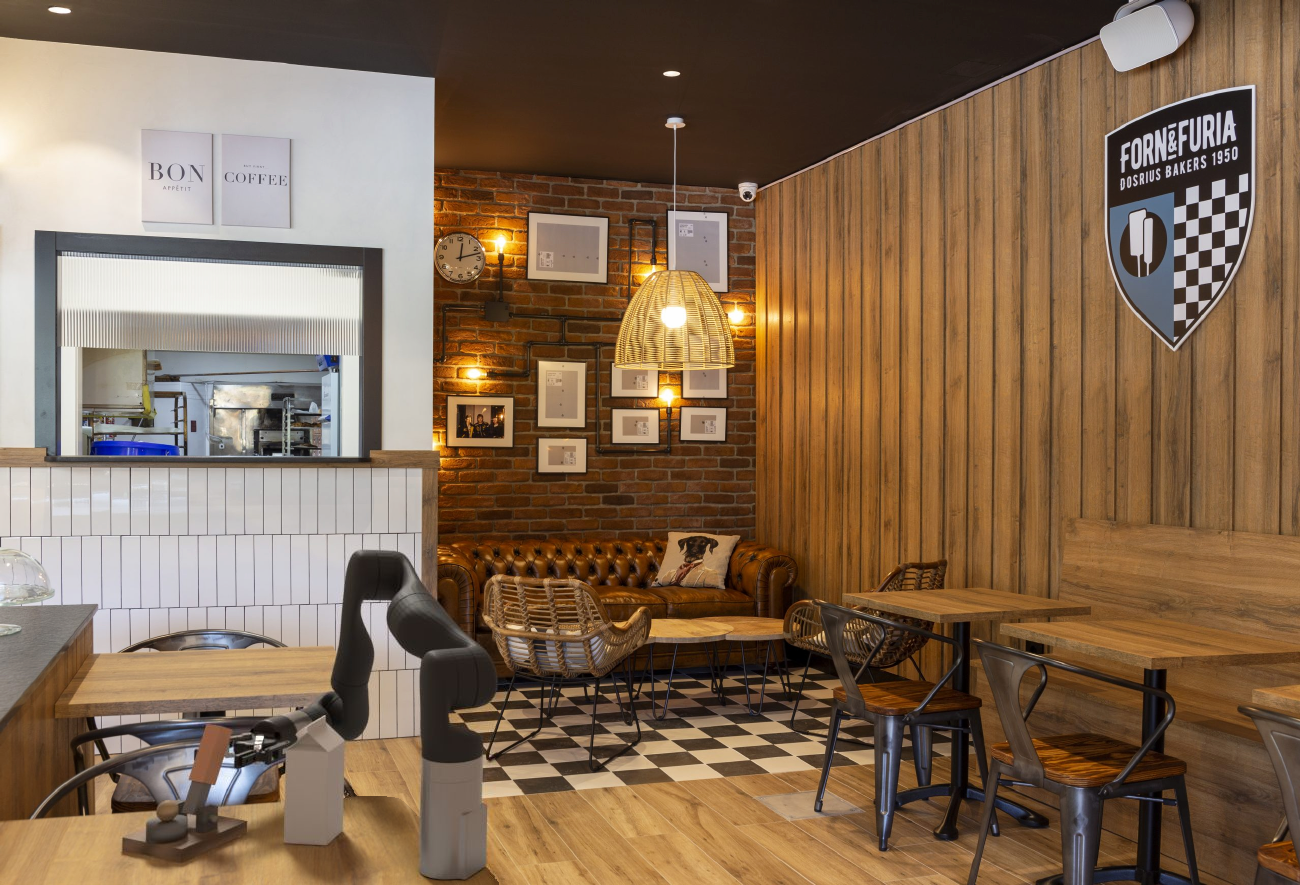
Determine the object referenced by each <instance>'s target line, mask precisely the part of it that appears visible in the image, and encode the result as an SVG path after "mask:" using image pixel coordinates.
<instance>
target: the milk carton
mask: <svg viewBox="0 0 1300 885" xmlns="http://www.w3.org/2000/svg"><path fill="white" fill-rule="evenodd" d="M296 736H297V737H298V739H299V740H298V741H296V742H295V743H294V744H293V745H292V746H290V747H289V748H288V749H287V750H286V758H285V770H284V771H285V775H284V776H285V777H284V778H285V779H284V781H285V782H284V814H283V815H284V816H283V817H284V818H283V819H284V820H283V822H284V823H283V824H284V825H283V844H297V845H310V846H311V845H312V846H314V845H315V846H328V845H329V844H330V843H331V842H332V841H333V840H334V839H335V838H337V837H338V836H339V835H340V834H341V833H342V832H343V831H344V796H345V795H344V793H345V788H344V787H345V757H346V755H345V752H346V751H345V749H346V741H345V740H344V739H343V738H342V737H341V736H340V735H339V734H338V733H337V732H336V731H334V730H333V729H332V728H331V727H330V726H329V725H328V724H327V723H326V715H324V716H323V717H321V718H319V719H318V720H316V721H314V722H313V723H311V724H309V725H308V726H306V727H304V728H303V729H301V730H300V731H299V732H297V733H296Z"/></svg>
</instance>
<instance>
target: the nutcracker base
mask: <svg viewBox="0 0 1300 885" xmlns="http://www.w3.org/2000/svg"><path fill="white" fill-rule="evenodd" d="M185 800H186V799H181V798H179V799H175V800H172V799H166V800H164V801H162V802H160V803H159V804H158V805H157V807H156V810H155V812H156V813H155V814H156V816H155V817H152V818H150V819H148V820H147V821H145V822H146V823H145V828H143V829H140V830H137V831H135V832H132V833H130V834H128V835H125V836H122V840H121V841H122V843H121V851H123V852H124V851H125V852H128V853H129V852H130V853H133V854H138V855H143V856H148V857H153V858H157V859H162V860H167V861H170V862H171V861H172V862H177V863H183V862H185V861H189V860H190V859H193V858H194V857H197V856H199V855H202V854H204V853H206V852H208V851H210V850H212V849H215V848H217V847H219V846H221V844H222V845H223V843H224V844H226V843H228V842H231V841H233V840H235V839H237V838H240V837H241V835H242V836H244V835H246V834H248V820H245V819H244V820H243V819H239V818H238V819H237V818H233V817H229V816H228V817H227V816H222V815H219V806H218V805H215V804H208V805H205V807H203V808H200V809H198V810H196V815H191V814H186V813H181V812H182V809H183V806H184V803H185ZM239 836H240V837H239ZM230 840H231V841H230ZM225 842H226V843H225ZM218 845H219V846H218Z"/></svg>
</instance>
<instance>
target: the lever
mask: <svg viewBox="0 0 1300 885" xmlns="http://www.w3.org/2000/svg"><path fill="white" fill-rule="evenodd" d="M232 733H233V729H232V728H228V727H225V726H223V725H217V724H211V723H206V725H205V728H204V731H203V735H202V737H201V739H200V744H199V745H198V748H199V749H198V752H197V755H196V758H195V761H194V760H193V764H192V768H191V770H190V774H189V776H188V781H191V782H190V785H189V789H188V792H187V795H186V797H185V799H184V800H185V803H184V806H183V809H182V812H181V813H186V814H191V815H196V810H198V809H200V808H203V807H205V806H206V803H207V800H208V798H209V797H208V796H209V794H210V791H211V788H212V786H216V784H217V782H218V781H217V780H218V778H219V775H220V771H221V768H222V766H223V765H222V764H223V761H224V758H225V757H224V756H225V753H226V749H227V746H228V743H229V740H230V737H231V734H232Z"/></svg>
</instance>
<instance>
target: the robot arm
mask: <svg viewBox="0 0 1300 885" xmlns="http://www.w3.org/2000/svg"><path fill="white" fill-rule="evenodd" d="M347 563H348V564H347V566H346V570H345V577H344V586H343V596H342V603H341V604H342V605H341V606H342V607H341V617H340V629H339V630H340V631H339V638H338V646H337V649H336V650H337V651H336V656H335V659H334V664H333V668H332V673H331V675H330V686H331V688H332V690H333V691H332V690H329V691H326V692H324V693H323V694H321V695H320V696H318V698H317V699H316V700H314V701H313V702H311V703H310V704H309V705H308V706H307V707H304V708H300V709H297V710H294V711H288V712H283V713H280V714H278V715H274V716H270V717H268V718H265V719H262V720H259V721H257V722H256V723H255V724H254V725H253V726H252V728H251V729H250V730H249V732H243V733H241V734H239V735H238V734H237V735H234V733H233V732H232V734H231V737H230V740H229V743H228V746H227V749H226V753H225V756H224V758H225V759H232V758H234V759H233V767H234V769H238V770H240V769H243V768H245V767H248V766H251V765H261V764H262V763H264V765H267V766H269V765H273V764H274V763H277V762H279V761H281V760H284V759H286V750H287V749H288V748H289V747H290V746H292V745H293V744H294V743H295V742H296V741H298V740H299V739H298V737H297V736H296V733H297V732H299V731H300V730H301V729H303V728H304V727H306V726H308V725H309V724H311V723H313V722H314V721H316V720H318V719H319V718H321V717H323V716H324V715H326V723H327V724H328V725H329V726H330V727H331V728H332V729H333V730H334V731H336V732H337V733H338V734H339V735H340V736H341V737H342V738H343V739H344V740H345V742H351V741H354V740H356V739H357V738H359V737H360V736H361V735H362V734H363V733H364V731H365V730H366V727H367V725H368V723H369V717H370V697H369V682H370V678H371V674H372V670H373V665H374V661H375V647H374V644H373V641H372V638H371V636H370V634H369V632H368V630H367V627H366V626H365V623H364V621H363V617H362V604H363V602H364V601H387V602H388V601H390V603H389V605H388V608H387V611H386V617H385V618H386V619H385V620H386V625H387V627H388V630H389V632H390V633H391V636H393V637H394V639H395V641H396V642H397V644H398V645H399V646H400V647H401V648H402V649H403V650H404V651H406V652H407V653H408V654H410V655H411V656H414V657H416V658H418V659H420V660H421V662H420V668H419V705H420V706H419V707H420V710H419V712H420V713H419V714H420V716H419V717H420V725H419V726H420V728H419V729H420V743H421V756H420V757H421V759H420V760H421V761H420V763H421V765H420V797H419V798H420V803H419V804H420V806H419V843H418V844H419V847H418V848H419V850H418V851H419V853H418V871H419V873H420V874H421V875H422V876H425V877H428V878H430V879H436V880H459V879H460V880H467V879H469V878H470V877H472V876H473V875H475V874H476V873H477V872H479V871H481V870H482V869H484V868H485V867H486V866H487V847H488V846H487V844H488V843H487V842H488V841H487V840H488V833H487V832H488V804H487V803H485V802H483V776H484V775H483V772H484V769H483V768H484V766H483V765H484V740H483V739H484V738H483V736H482V735H481V734H480V733H479V732H478V731H475V730H473V729H469V728H465V727H461V726H457V725H455V724H453V723H451V722H450V714H449V713H450V712H452V711H463V710H470V709H477V708H481V707H483V706H486V705H488V704H489V703H490V702H492V700H494V697H496V694H497V690H498V684H499V682H498V680H499V679H498V674H497V668H496V666H495V664H494V661H493V659H492V657H491V656H490V654H489V653H488V652H487V650H486V649H485V648H484V647H482V645H481V644H479V643H478V642H477V641H475V640H474V639H473V638H472V637H471V636H469V635H468V634H467V633H466V632H465V631H464V630H462V628H460V626H459V625H458V624H457V623H456V622H455V621H454V620H453V619H452V618H451V616H450V615H449V614H448V612H446V610H445V608H444V607H443V606H442V605H441V604H440V602H439V601H438V600H437V599H436V598H435V597H434V596H433V595H432V593H431V592H430V591H429V590H428V589H427V586H425V585H424V583H423V582H422V580H421V578H420V577H419V575H418V574H417V572H416V569H415V567H414V566H413V564H412V562H411V561H410V559H409V558H408V557H407V556H406V555H405V554H404V553H402V552H401V551H398V550H397V551H396V550H386V549H385V550H384V549H383V550H382V549H357V550H356V551H354V552H353V553H352V554H351V556H350V558H349V560H348V562H347ZM232 748H233V750H232V751H233V752H230V749H232ZM198 749H199V747H197V748H195V749H194V750H193V762H194V761H195V758H196V755H197V752H198Z"/></svg>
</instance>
